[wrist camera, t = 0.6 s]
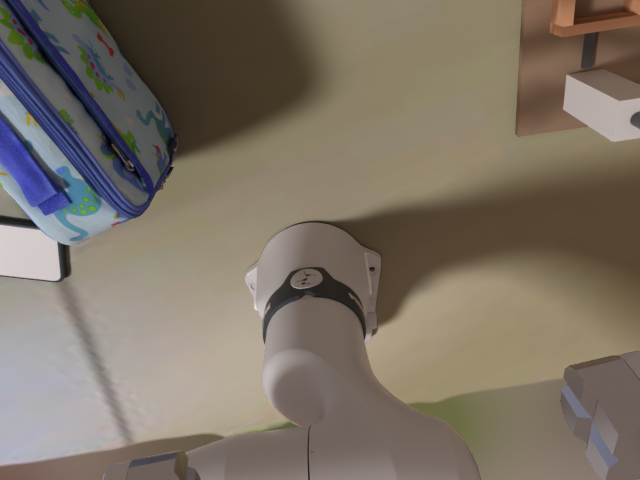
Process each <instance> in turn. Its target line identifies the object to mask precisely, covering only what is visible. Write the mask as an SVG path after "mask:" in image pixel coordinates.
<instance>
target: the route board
mask: <svg viewBox="0 0 640 480" xmlns="http://www.w3.org/2000/svg"><path fill="white" fill-rule="evenodd" d="M599 69H604V70H607V71H609V72H611V73H614V74H616V75H618V76H621V77H623V78H626V79H628V80H630V81H633V82H635V83H637V84H640V0H522V15H521V35H520V54H519V73H518V92H517V111H516V131H515V134H516V135H517V136H518V137H520V136H526V135H533V134H540V133H547V132H553V131H560V130H567V129H574V128H580V127H587V126H588V125H586V124H585V123H583V122H581V121H580V120H578V119H577V118H575V117H574V116H572V115H571V114H569V113H568V112H566V111H564V110H563V105H564V95H565V85H566V75H567V74H573V73H580V72H586V71H593V70H599Z"/></svg>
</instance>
